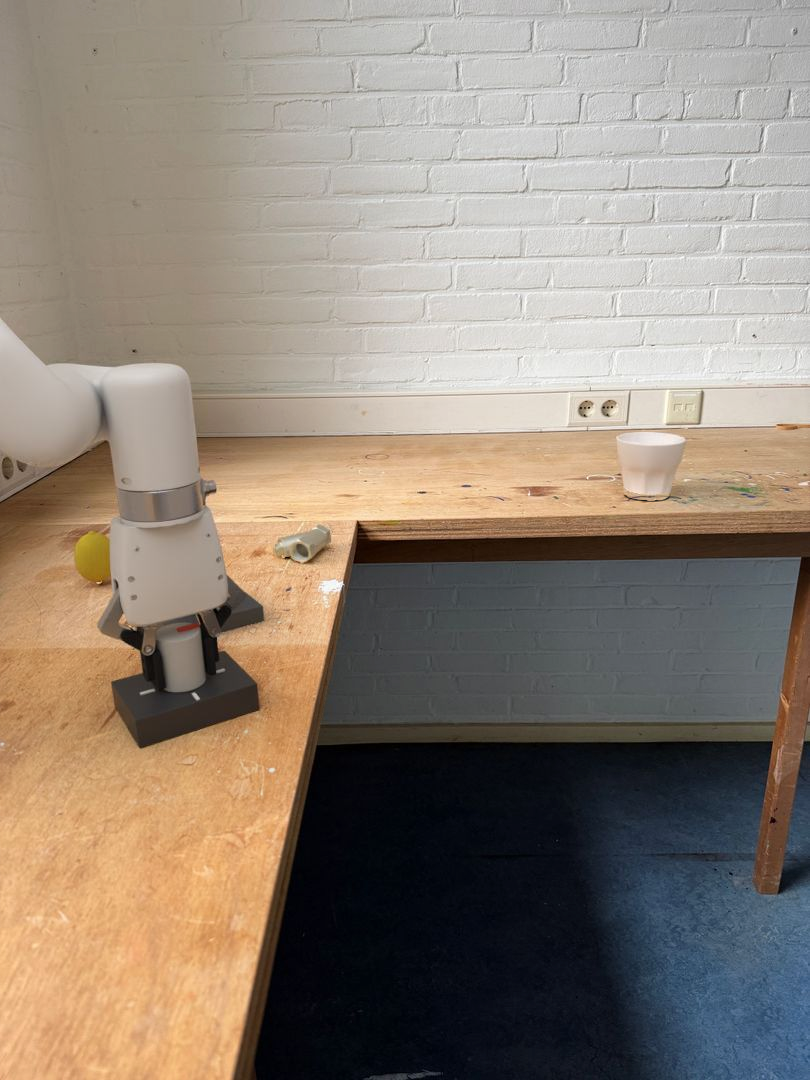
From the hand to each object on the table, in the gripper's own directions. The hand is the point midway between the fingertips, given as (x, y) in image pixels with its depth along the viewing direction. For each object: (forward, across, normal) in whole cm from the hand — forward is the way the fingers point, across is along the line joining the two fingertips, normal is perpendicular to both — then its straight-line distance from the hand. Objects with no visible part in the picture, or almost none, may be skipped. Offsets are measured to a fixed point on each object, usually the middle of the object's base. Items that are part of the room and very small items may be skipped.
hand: (182, 675), depth 79 cm
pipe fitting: (+4, -31, -34) cm, 46 cm away
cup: (+4, -98, -24) cm, 101 cm away
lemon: (+4, -2, -41) cm, 41 cm away
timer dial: (+1, 0, 0) cm, 1 cm away
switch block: (+4, -9, -20) cm, 22 cm away
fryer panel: (+4, 0, 0) cm, 4 cm away
